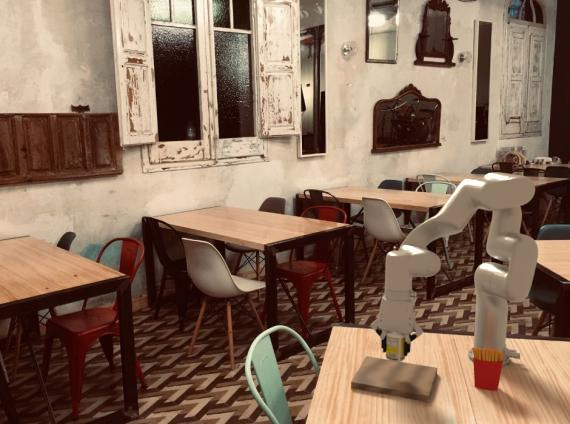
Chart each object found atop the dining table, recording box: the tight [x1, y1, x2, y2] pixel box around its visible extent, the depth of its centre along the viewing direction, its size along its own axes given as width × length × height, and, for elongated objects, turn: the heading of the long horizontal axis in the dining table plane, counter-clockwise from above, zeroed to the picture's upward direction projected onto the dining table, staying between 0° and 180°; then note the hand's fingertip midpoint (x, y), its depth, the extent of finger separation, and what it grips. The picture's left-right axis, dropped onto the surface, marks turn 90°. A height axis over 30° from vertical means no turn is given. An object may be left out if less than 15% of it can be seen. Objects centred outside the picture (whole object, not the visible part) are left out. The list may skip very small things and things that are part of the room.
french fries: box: [471, 347, 503, 392], centre depth 160 cm, size 8×4×12 cm, turn 71°
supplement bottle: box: [385, 331, 406, 362], centre depth 163 cm, size 6×6×10 cm
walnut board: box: [350, 355, 438, 404], centre depth 165 cm, size 22×18×2 cm
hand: (395, 352), depth 164 cm, fingers closed on supplement bottle, 5 cm apart
